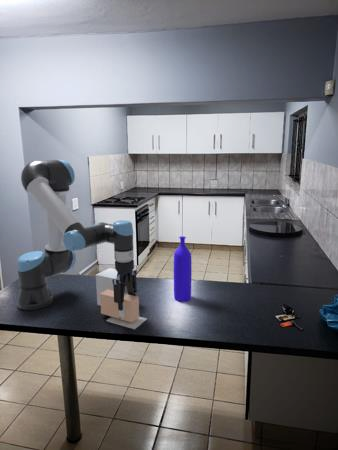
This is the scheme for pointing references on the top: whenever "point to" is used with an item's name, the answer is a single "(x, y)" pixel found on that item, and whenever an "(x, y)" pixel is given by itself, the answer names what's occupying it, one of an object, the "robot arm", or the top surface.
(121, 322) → the pad
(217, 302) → the top surface
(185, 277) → the bottle
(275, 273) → the top surface
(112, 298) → the wooden twin blocks
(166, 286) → the top surface
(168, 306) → the top surface
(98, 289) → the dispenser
